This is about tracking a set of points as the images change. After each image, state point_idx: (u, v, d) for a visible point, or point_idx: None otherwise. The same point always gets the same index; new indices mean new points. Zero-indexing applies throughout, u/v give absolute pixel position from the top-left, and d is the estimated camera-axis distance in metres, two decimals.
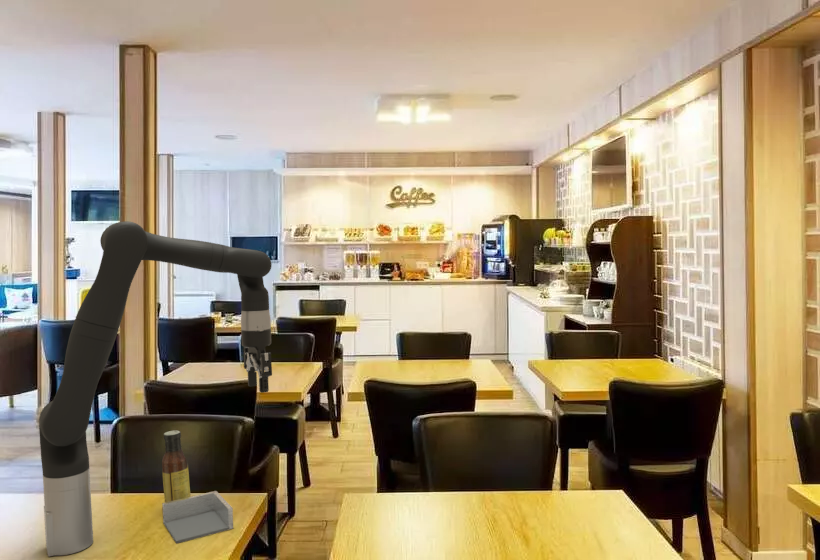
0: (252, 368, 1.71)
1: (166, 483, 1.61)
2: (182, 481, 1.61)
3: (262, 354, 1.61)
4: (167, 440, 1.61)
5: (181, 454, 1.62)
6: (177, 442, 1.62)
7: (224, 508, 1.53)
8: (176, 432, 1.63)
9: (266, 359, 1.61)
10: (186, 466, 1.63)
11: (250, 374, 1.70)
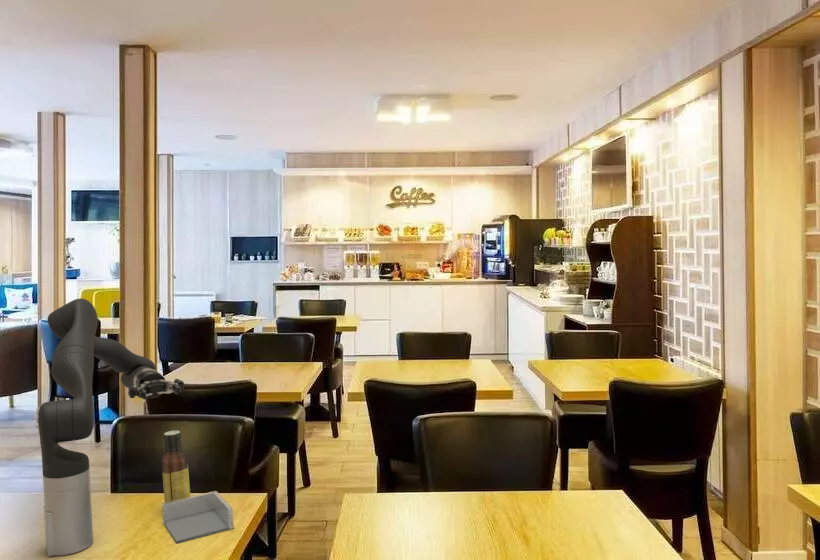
0: None
1: (166, 483, 1.61)
2: (182, 481, 1.61)
3: None
4: (167, 440, 1.61)
5: (181, 454, 1.62)
6: (177, 442, 1.62)
7: (224, 508, 1.53)
8: (176, 432, 1.63)
9: None
10: (186, 466, 1.63)
11: None
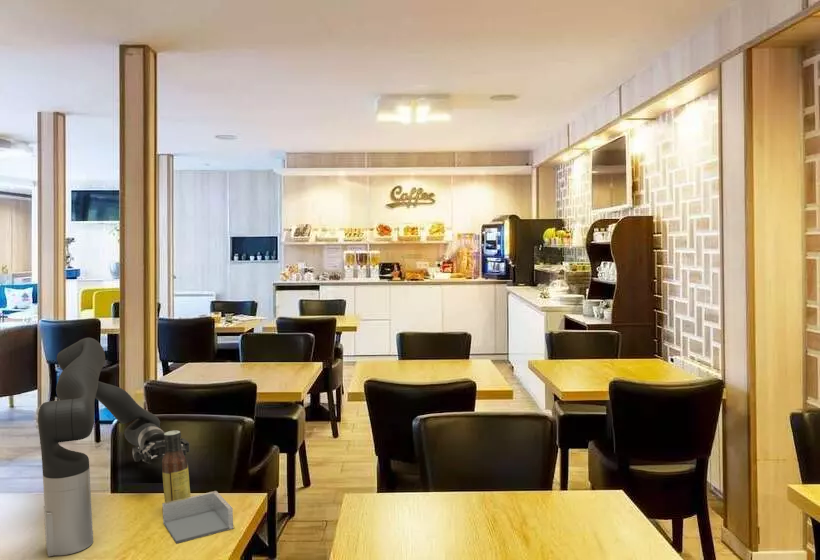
0: None
1: (166, 483, 1.61)
2: (182, 481, 1.61)
3: None
4: (167, 440, 1.61)
5: (181, 454, 1.62)
6: (177, 442, 1.62)
7: (224, 508, 1.53)
8: (176, 432, 1.63)
9: None
10: (186, 466, 1.63)
11: (148, 454, 1.72)
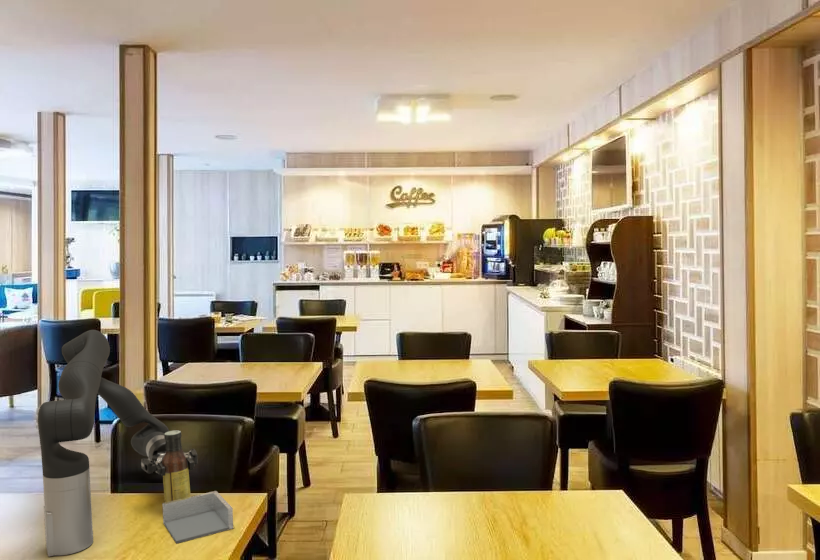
0: None
1: (166, 482, 1.61)
2: (182, 481, 1.61)
3: None
4: (167, 440, 1.61)
5: (181, 454, 1.62)
6: (177, 442, 1.62)
7: (224, 508, 1.53)
8: (177, 432, 1.63)
9: None
10: (186, 466, 1.63)
11: None
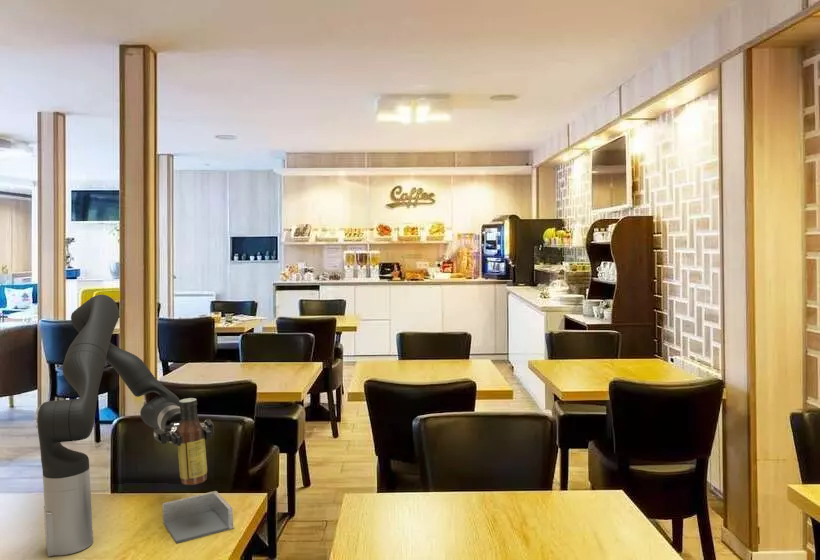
0: None
1: (182, 453, 1.50)
2: (198, 452, 1.51)
3: None
4: (183, 408, 1.50)
5: (197, 423, 1.51)
6: (193, 410, 1.51)
7: (224, 508, 1.53)
8: (192, 399, 1.52)
9: None
10: (203, 436, 1.52)
11: None
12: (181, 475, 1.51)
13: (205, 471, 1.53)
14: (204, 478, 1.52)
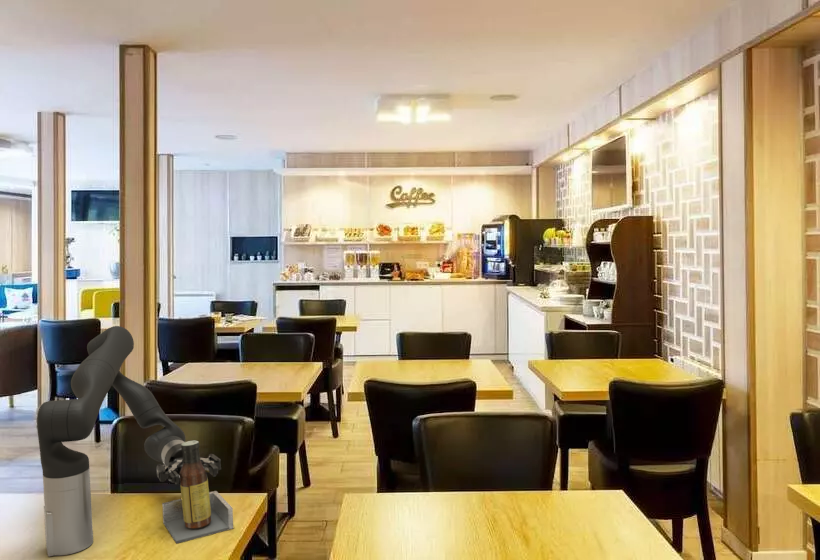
0: None
1: (185, 497, 1.49)
2: (201, 495, 1.50)
3: None
4: (185, 451, 1.50)
5: (200, 466, 1.51)
6: (195, 453, 1.51)
7: (224, 508, 1.53)
8: (194, 442, 1.52)
9: None
10: (206, 478, 1.52)
11: None
12: (185, 519, 1.50)
13: (209, 514, 1.52)
14: (208, 521, 1.52)
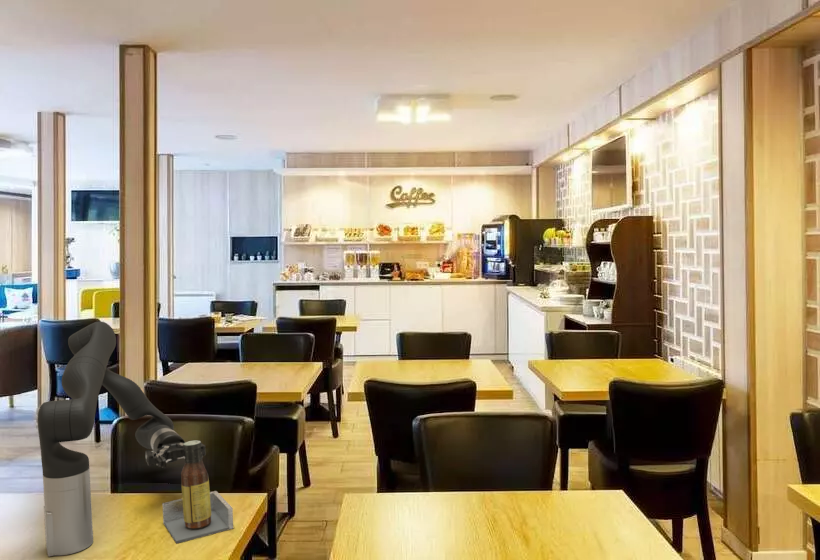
0: None
1: (186, 496, 1.49)
2: (202, 495, 1.50)
3: None
4: (187, 451, 1.50)
5: (201, 466, 1.51)
6: (197, 453, 1.51)
7: (224, 508, 1.53)
8: (196, 442, 1.52)
9: None
10: (207, 479, 1.52)
11: None
12: (185, 519, 1.50)
13: (209, 514, 1.52)
14: (208, 521, 1.52)
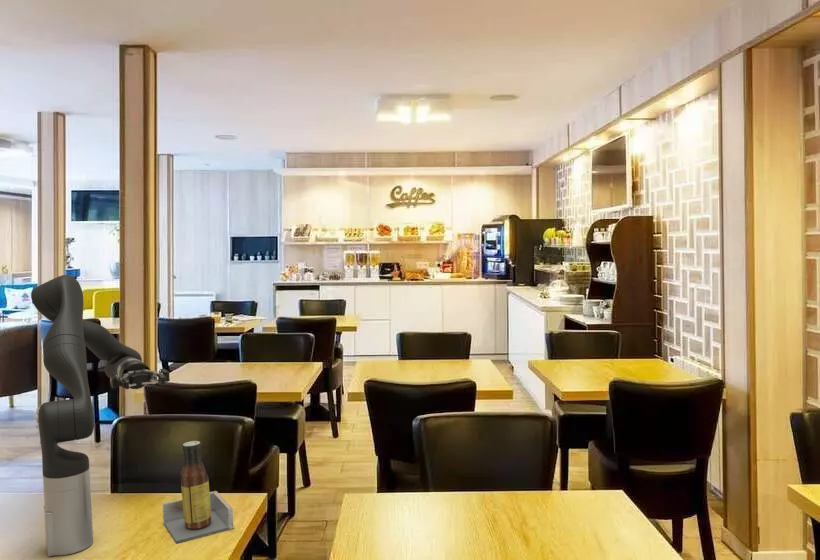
0: None
1: (185, 497, 1.49)
2: (202, 496, 1.50)
3: None
4: (186, 451, 1.50)
5: (201, 466, 1.51)
6: (197, 454, 1.50)
7: (224, 508, 1.53)
8: (196, 443, 1.51)
9: None
10: (206, 479, 1.52)
11: None
12: (185, 519, 1.50)
13: (209, 515, 1.52)
14: (208, 522, 1.52)
